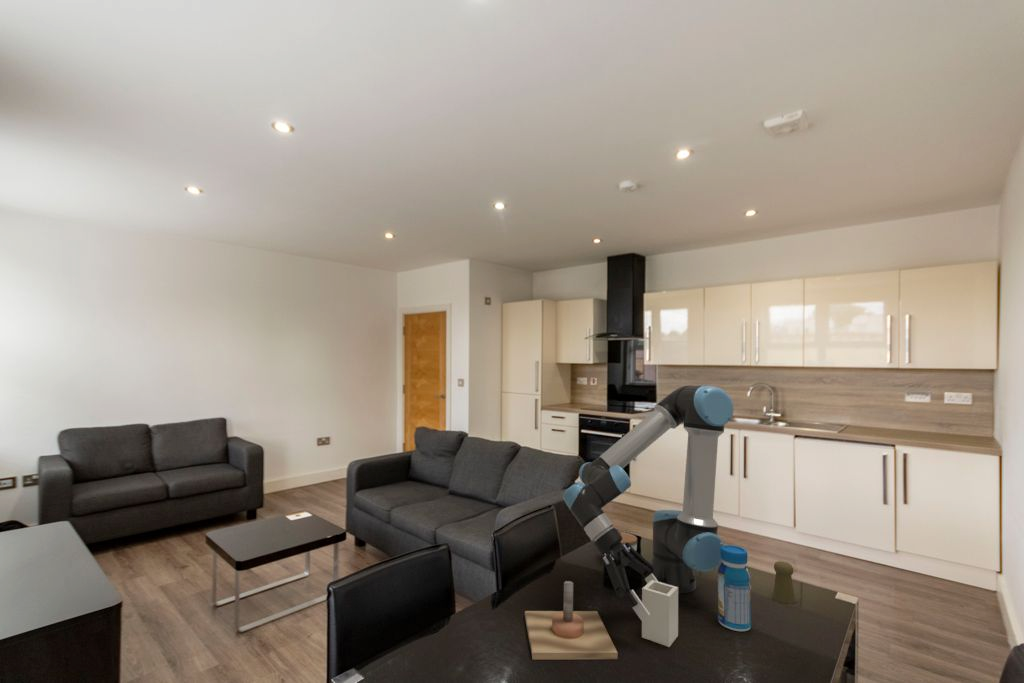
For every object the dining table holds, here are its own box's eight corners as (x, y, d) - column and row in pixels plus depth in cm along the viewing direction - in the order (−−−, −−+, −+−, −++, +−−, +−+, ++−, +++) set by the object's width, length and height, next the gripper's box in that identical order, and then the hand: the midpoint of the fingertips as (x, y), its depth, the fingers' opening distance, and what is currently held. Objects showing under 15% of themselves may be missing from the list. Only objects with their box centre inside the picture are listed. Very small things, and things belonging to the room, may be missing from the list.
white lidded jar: (638, 559, 175) (638, 528, 176) (635, 571, 163) (635, 538, 164) (604, 553, 179) (604, 524, 180) (599, 565, 167) (599, 533, 168)
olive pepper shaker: (798, 605, 141) (798, 567, 142) (776, 602, 142) (776, 565, 143) (791, 596, 147) (790, 560, 148) (770, 594, 148) (769, 558, 149)
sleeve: (641, 637, 120) (642, 588, 121) (651, 626, 126) (651, 579, 127) (669, 647, 116) (669, 596, 117) (678, 635, 122) (678, 587, 123)
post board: (524, 616, 129) (526, 567, 130) (596, 616, 130) (597, 568, 131) (532, 659, 109) (534, 601, 110) (617, 659, 110) (618, 601, 111)
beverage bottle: (737, 635, 123) (737, 556, 124) (710, 620, 130) (710, 545, 132) (758, 628, 127) (757, 551, 128) (731, 614, 134) (730, 542, 136)
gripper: (613, 531, 143) (662, 598, 133) (572, 554, 123) (626, 634, 113) (630, 517, 140) (681, 584, 130) (591, 537, 121) (647, 618, 110)
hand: (655, 607), depth 122 cm, fingers open, 13 cm apart
